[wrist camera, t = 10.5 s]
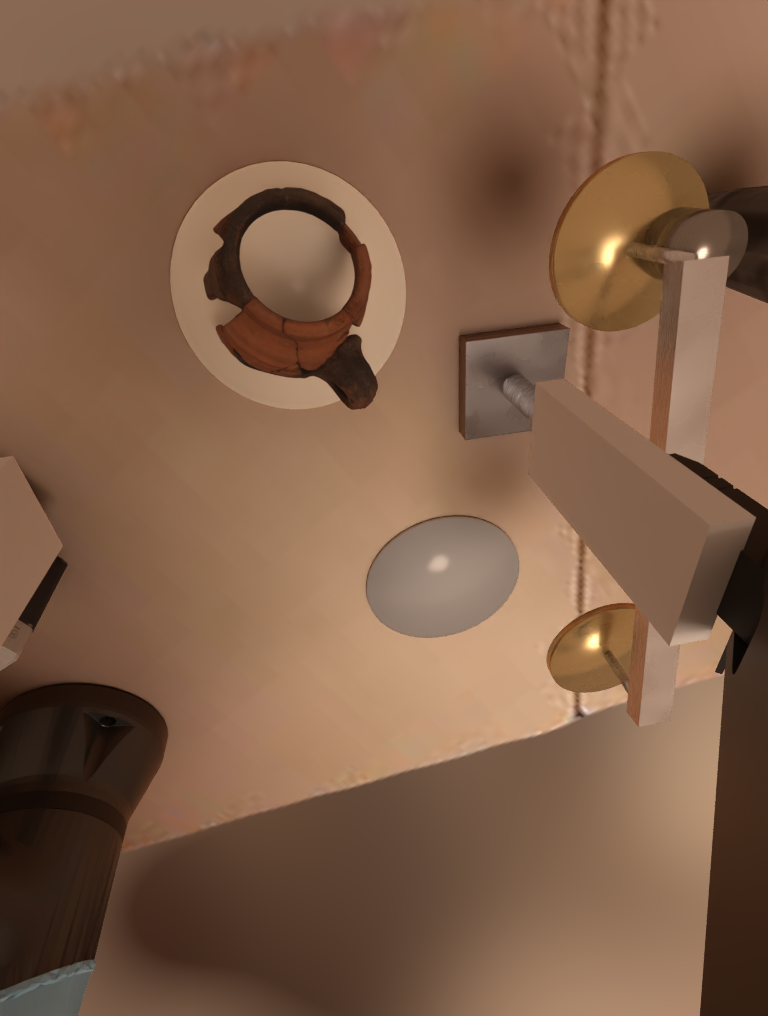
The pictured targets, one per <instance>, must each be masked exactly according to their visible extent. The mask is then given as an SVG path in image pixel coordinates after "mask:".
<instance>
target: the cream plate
mask: <svg viewBox="0 0 768 1016" xmlns="http://www.w3.org/2000/svg"><path fill="white" fill-rule="evenodd" d="M285 187H295V188H303V189H306V190H309V191H313V192H315V193H317V194H319V195H321V196H322V197H325V198H327V199H329V200H331V201H332V202H334V203H335V204H336V205H338V206H339V207H341V208H342V209H343V210H344V212H345V215H346V222H345V223H346V224H347V226H348V227H349V228H350V229H351V230H352V231H353V233H354V234H355V235H356V237H357V238H358V240H359V241H360V243H361V244H363V243H364V244H365V245H366V247H367V249H368V253H369V257H370V261H371V265H372V270H371V274H372V278H371V287H370V290H369V296H368V302H367V306H366V311H365V315H364V317H363V321H362V323H361V325H360V327H357V326H354V325H352V326H351V328H350V330H349V334H348V336H349V335H352V334H357V335H358V336H360V337H361V339H362V343H361V350H362V353H363V356H364V358H365V359H366V361H367V362H368V363H369V365H370V367H371V369H372V371H373V373H374V375H376V374H377V373H378V372H379V370H380V369H381V368H382V367H383V365H384V364H385V362H386V361H387V359H388V358H389V356H390V354H391V352H392V351H393V349H394V347H395V345H396V342H397V339H398V337H399V334H400V331H401V327H402V324H403V320H404V313H405V306H406V283H405V275H404V269H403V264H402V260H401V256H400V253H399V250H398V248H397V245H396V242H395V240H394V238H393V236H392V234H391V232H390V230H389V228H388V226H387V224H386V223H385V221H384V220H383V218H382V217H381V216H380V214H379V213H378V211H377V210H376V209H375V208H374V207H373V205H372V204H371V203H370V202H369V201H368V200H367V199H366V198H365V197H364V196H363V195H362V194H361V193H360V192H358V191H357V190H356V189H355V188H354V187H353V186H351V185H350V184H348V183H347V182H345V181H344V180H342V179H341V178H339V177H337V176H336V175H333V174H331V173H329V172H327V171H325V170H323V169H320V168H317V167H314V166H310V165H307V164H303V163H296V162H288V161H270V162H263V163H258V164H252V165H249V166H246V167H244V168H241V169H238V170H235V171H233V172H232V173H230V174H228V175H226V176H224V177H222V178H221V179H219V180H218V181H217V182H215V183H214V184H213V185H212V186H210V187H209V188H208V189H207V190H206V191H205V192H204V193H203V194H202V195H201V196H200V197H199V198H198V199H197V200H196V201H195V203H194V204H193V206H192V207H191V209H190V210H189V212H188V213H187V215H186V216H185V218H184V220H183V222H182V225H181V227H180V229H179V231H178V234H177V237H176V240H175V244H174V247H173V252H172V259H171V266H170V285H171V295H172V301H173V305H174V310H175V314H176V317H177V320H178V322H179V325H180V328H181V331H182V332H183V334H184V336H185V338H186V340H187V342H188V344H189V346H190V347H191V349H192V350H193V352H194V353H195V355H196V356H197V358H198V359H199V360H200V361H201V363H202V364H203V365H204V366H205V367H206V369H207V370H208V371H209V372H210V373H211V374H213V375H214V376H215V377H216V378H217V379H218V380H219V381H220V382H222V383H223V384H224V385H226V386H227V387H228V388H230V389H231V390H233V391H235V392H236V393H238V394H240V395H242V396H243V397H245V398H248V399H250V400H252V401H255V402H257V403H260V404H264V405H267V406H271V407H276V408H282V409H311V408H316V407H321V406H326V405H329V404H332V403H335V402H338V401H340V399H339V397H338V396H337V395H336V393H335V392H334V391H333V389H332V388H331V387H330V386H329V385H328V383H326V382H325V381H323V380H322V379H320V378H318V377H315V376H310V377H308V378H289V377H283V376H278V375H273V374H269V373H265V372H262V371H258V370H255V369H252V368H249V367H247V366H245V365H243V364H242V363H241V362H239V360H238V359H237V358H235V357H234V356H233V355H232V354H231V353H230V352H229V350H228V349H227V348H226V347H225V345H224V344H223V343H222V342H221V340H220V338H219V336H218V334H217V332H216V326H217V325H220V324H221V325H223V326H224V325H225V324H227V323H229V322H230V321H231V320H232V319H233V318H234V317H235V316H236V315H237V314H239V313H240V312H241V311H242V309H241V308H239V307H237V306H235V305H233V304H230V303H229V302H225V301H221V300H220V299H218V298H217V299H215V300H209V299H208V298H207V296H206V292H205V287H204V282H203V278H204V275H205V274H206V272H207V271H208V268H209V262H210V259H211V257H212V256H213V255H214V253H215V251H217V250H218V249H219V248H221V247H222V245H223V243H224V241H223V240H222V238H221V237H220V236H219V235H218V234H216V233H215V232H214V231H213V228H214V227H215V226H216V225H217V224H218V223H219V221H220V220H221V219H223V218H224V217H225V216H226V215H228V214H229V213H231V212H232V211H233V210H235V209H236V208H238V207H239V205H240V204H242V203H243V202H244V201H245V200H246V199H247V198H249V197H250V196H252V195H255V194H257V193H259V192H262V191H264V190H266V189H273V188H280V189H283V188H285ZM240 265H241V270H242V273H243V276H244V279H245V281H246V283H247V285H248V287H249V288H250V290H251V292H252V293H253V295H254V296H255V297H257V298H258V299H259V300H260V301H261V302H262V303H263V304H264V305H265V306H266V307H267V308H269V309H270V310H272V311H273V312H275V313H277V314H279V315H281V316H283V317H284V318H288V319H291V320H295V321H300V322H313V321H320V320H324V319H326V318H329V317H331V316H333V315H335V314H336V313H338V312H339V311H340V310H341V309H342V308H343V306H344V305H345V304H346V303H347V301H348V300H349V298H350V296H351V293H352V290H353V286H354V279H355V274H354V266H353V261H352V258H351V254H350V253H349V252H348V251H347V250H346V249H345V248H344V246H343V245H342V244H341V242H340V240H339V234H338V232H337V231H335V230H334V229H333V228H332V227H330V226H329V225H328V224H326V223H325V222H323V221H322V220H320V219H319V218H317V217H315V216H313V215H310V214H307V213H304V212H300V211H293V210H279V211H273V212H270V213H267V214H265V215H263V216H261V217H260V218H258V219H256V220H255V221H254V222H253V223H252V224H251V225H250V226H249V227H248V229H247V230H246V232H245V234H244V235H243V237H242V241H241V245H240Z"/></svg>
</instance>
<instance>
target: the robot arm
mask: <svg viewBox="0 0 768 1016" xmlns="http://www.w3.org/2000/svg"><path fill="white" fill-rule="evenodd" d="M528 474H529V475H530V476H531V478H532V479H533V480H534V481H535V482H536V484H537V485H538V486H539V487H540V489H541V490H542V491H543V492H544V493H545V495H546V496H547V497H548V498H549V500H550V501H551V502H552V503H553V504H554V506H555V507H556V508H557V509H558V511H559V512H560V513H561V514H562V515H563V517H564V518H565V519H566V520H567V522H568V523H569V524H570V525H571V527H572V528H573V529H574V530H575V531H576V533H577V534H578V535H579V536H580V538H581V539H582V540H583V541H584V542H585V544H586V545H587V546H588V547H589V549H590V550H591V551H592V552H593V553H594V555H595V556H596V557H597V558H598V560H599V561H600V562H601V563H602V564H603V566H604V567H605V568H606V569H607V571H608V572H609V573H610V574H611V575H612V577H613V578H614V579H615V580H616V582H617V583H618V584H619V585H620V586H621V588H622V589H623V590H624V591H625V593H626V594H627V595H628V596H629V598H630V599H631V600H632V601H633V602H634V604H635V605H636V606H637V607H638V609H639V610H640V611H641V612H642V613H643V615H644V616H645V617H646V618H647V620H648V621H649V622H650V623H651V624H652V626H653V627H654V628H655V629H656V631H657V632H658V633H659V634H660V635H661V637H662V638H663V639H664V640H665V642H666V643H667V644H668V645H669V646H674V645H679V644H685V643H690V642H695V641H700V640H705V639H708V638H709V635H710V633H711V630H712V628H713V625H714V623H715V620H716V618H717V615H718V616H719V617H720V618H721V619H722V620H723V621H724V622H725V623H726V624H727V625H728V626H729V627H730V628H731V629H732V630H733V631H732V633H731V636H730V638H729V640H728V643H727V645H726V647H725V650H724V652H723V654H722V657H721V659H720V661H719V664H718V666H717V668H716V671H715V672H717V673H720V674H722V673H723V671H724V669H725V677H724V691H723V704H722V718H721V732H720V746H719V761H718V773H717V787H716V801H715V815H714V829H713V842H712V856H711V870H710V884H709V899H708V911H707V912H708V913H707V925H706V940H705V953H704V968H703V980H702V994H701V1008H700V1016H768V509H766V508H765V507H763V506H762V505H761V504H759V503H758V502H756V501H755V500H753V499H752V498H750V497H749V496H747V495H746V494H745V493H743V492H742V491H740V490H739V489H734V488H733V485H731V484H730V483H729V482H727V481H726V480H724V479H723V478H718V475H717V474H715V473H714V472H713V471H711V470H710V469H708V468H707V467H705V466H704V465H702V464H701V463H699V462H697V461H694V460H691V459H689V458H686V457H684V456H681V455H679V454H676V453H673V454H667V453H666V452H665V451H663V450H662V449H661V448H659V447H658V446H656V445H655V444H654V443H652V442H651V441H649V440H648V439H647V438H645V437H644V436H642V435H641V434H640V433H638V432H637V431H636V430H634V429H633V428H631V427H630V426H629V425H627V424H626V423H624V422H623V421H622V420H620V419H619V418H618V417H616V416H615V415H613V414H612V413H611V412H609V411H608V410H606V409H605V408H604V407H602V406H601V405H600V404H598V403H597V402H595V401H594V400H593V399H591V398H590V397H588V396H587V395H586V394H584V393H583V392H582V391H580V390H579V389H577V388H576V387H575V386H573V385H572V384H570V383H569V382H568V381H566V380H565V379H557V380H550V381H543V382H536V387H535V398H534V410H533V421H532V433H531V445H530V456H529V468H528ZM62 547H63V545H62V543H61V541H60V540H59V538H58V536H57V534H56V532H55V530H54V529H53V527H52V525H51V523H50V521H49V520H48V518H47V516H46V514H45V512H44V511H43V509H42V507H41V505H40V503H39V501H38V500H37V498H36V496H35V494H34V492H33V491H32V489H31V487H30V485H29V483H28V482H27V480H26V478H25V476H24V474H23V472H22V471H21V469H20V467H19V465H18V463H17V462H16V460H15V458H14V456H8V457H1V458H0V648H1V646H2V645H3V643H4V641H5V640H6V638H7V636H8V635H9V633H10V632H11V630H12V628H13V627H14V625H15V623H16V622H17V620H18V619H19V617H20V615H21V614H22V612H23V610H24V609H25V607H26V605H27V604H28V602H29V601H30V599H31V597H32V596H33V594H34V592H35V591H36V589H37V588H38V586H39V584H40V583H41V581H42V579H43V578H44V576H45V575H46V573H47V571H48V570H49V568H50V566H51V565H52V563H53V561H54V560H55V558H56V557H57V555H58V553H59V552H60V550H61V548H62ZM167 738H168V731H167V727H166V724H165V722H164V720H163V719H162V717H161V716H160V714H159V713H158V712H157V711H156V710H155V709H154V708H152V707H151V706H150V705H149V704H147V703H146V702H144V701H142V700H141V699H139V698H137V697H135V696H132V695H130V694H127V693H125V692H122V691H119V690H115V689H111V688H106V687H101V686H94V685H79V684H72V685H58V686H51V687H45V688H41V689H37V690H34V691H31V692H28V693H26V694H23V695H21V696H19V697H17V698H16V699H14V700H12V701H11V702H10V703H8V704H7V705H6V706H5V707H4V708H3V709H2V710H1V711H0V1016H78V1013H79V1010H80V1007H81V1004H82V1001H83V997H84V994H85V991H86V988H87V985H88V981H89V978H90V975H91V973H92V972H93V970H94V967H95V963H96V961H95V960H94V959H95V955H96V951H97V947H98V942H99V938H100V934H101V930H102V926H103V922H104V918H105V913H106V909H107V906H108V901H109V897H110V893H111V889H112V885H113V881H114V877H115V872H116V869H117V865H118V860H119V856H120V852H121V848H122V843H123V839H124V835H125V831H126V828H127V824H128V821H129V819H130V817H131V816H132V814H133V812H134V810H135V809H136V807H137V805H138V804H139V802H140V800H141V799H142V797H143V795H144V794H145V792H146V790H147V788H148V787H149V785H150V783H151V781H152V779H153V778H154V776H155V774H156V773H157V771H158V769H159V768H160V766H161V763H162V760H163V757H164V752H165V748H166V743H167Z"/></svg>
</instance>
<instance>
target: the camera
mask: <svg viewBox="0 0 768 1016" xmlns="http://www.w3.org/2000/svg"><path fill="white" fill-rule="evenodd" d="M66 567H67V563H66V562H65V561H64V560H62V559H61V558H60V557H58V556H57V557H56V558H55V560H54V561H53V563H52V565H51V566H50V568H49V570H48V571H47V573H46V575H45V576H44V578H43V579H42V581H41V583H40V584H39V586H38V588H37V589H36V591H35V592H34V594H33V596H32V597H31V599H30V601H29V602H28V604H27V605H26V607H25V609H24V610H23V612H22V614H21V615H20V617H19V619H18V620H17V622H16V623H15V625H14V627H13V628H12V630H11V632H10V633H9V635H8V636H7V638H6V640H5V641H4V643H3V645H2V646H1V648H0V671H1V670H2V669H4V668H5V667H7V666H8V665H10V664H12V663H13V662H15V661H16V660H18V658H19V656H20V654H21V652H22V650H23V649H24V647H25V645H26V643H27V641H28V639H29V637H30V635H31V634H32V632H33V631H34V629H35V627H36V625H37V623H38V621H39V619H40V617H41V615H42V613H43V611H44V609H45V607H46V605H47V603H48V601H49V599H50V598H51V596H52V594H53V592H54V590H55V588H56V586H57V584H58V582H59V580H60V578H61V576H62V574H63V572H64V570H65V569H66Z"/></svg>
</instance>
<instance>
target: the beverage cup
mask: <svg viewBox="0 0 768 1016" xmlns="http://www.w3.org/2000/svg"><path fill="white" fill-rule="evenodd" d="M708 201H709V209H718V210H730V211H734V212H736V213H738V214H740V215H741V216H742V217H743V219H744V220H745V222H746V225H747V228H748V242H747V247H746V250H745V253H744V255H743V257H742V259H741V261H740V263H739V265H738V266H737V268H736V269H735V270H734V271H733V273H732V274H731V275H730V276H729V277H728V278H727V280H726V287H728V288H731V289H733V290H736V291H738V292H741V293H743V294H746V295H748V296H751V297H753V298H756V299H758V300H761V301H763V302H766V303H768V186H761V187H752V188H742V189H735V190H732V191H727V192H723V193H720V192H717V193H714V194H710V195H708Z"/></svg>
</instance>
